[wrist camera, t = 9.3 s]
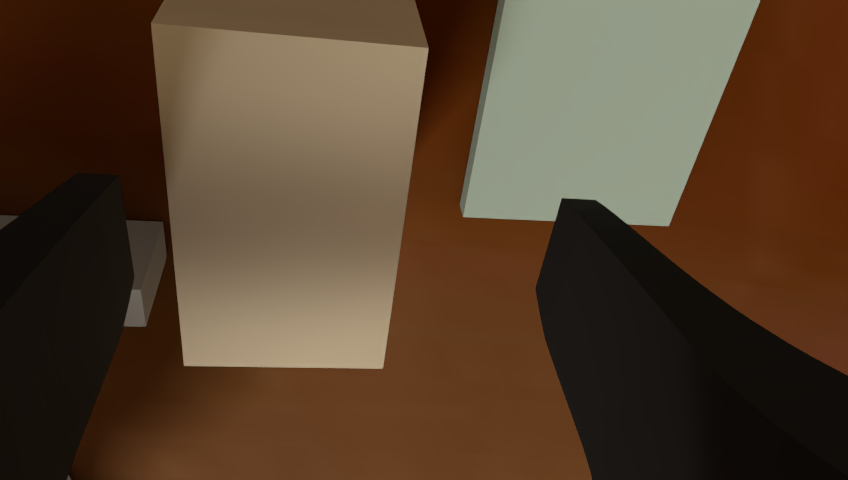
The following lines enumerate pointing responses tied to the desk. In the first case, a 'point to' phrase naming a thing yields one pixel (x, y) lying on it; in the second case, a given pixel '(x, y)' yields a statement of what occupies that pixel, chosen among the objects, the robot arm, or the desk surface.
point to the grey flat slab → (139, 266)
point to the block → (287, 173)
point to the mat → (598, 104)
